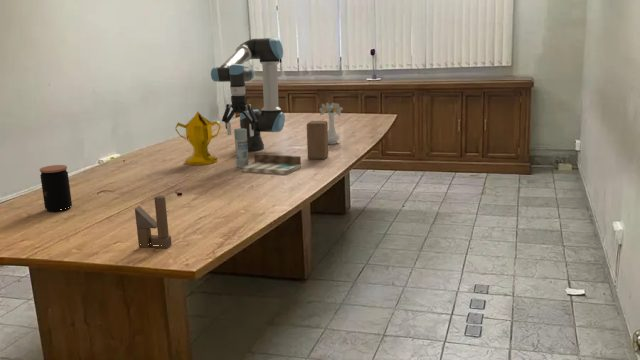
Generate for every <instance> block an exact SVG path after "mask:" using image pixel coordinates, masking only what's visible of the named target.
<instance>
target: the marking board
mask: <svg viewBox="0 0 640 360" xmlns="http://www.w3.org/2000/svg"><path fill="white" fill-rule="evenodd" d="M301 158H302V157H301V156H300V155H286V154H271V153H269V154H268V153H255V154H254V162H251V163H248V165H246V166H244V167H242V168H241V172H245V173H246V172H247V173H260V174H261V173H263V174H275V175H289V174H291V173H293V172H295V171H297V170H299V169H301V167H302V162H301V161H302V160H301Z"/></svg>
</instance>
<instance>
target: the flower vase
mask: <svg viewBox="0 0 640 360" xmlns="http://www.w3.org/2000/svg"><path fill="white" fill-rule="evenodd" d="M318 110H319V112H320V113H319V117H320V116H323V115H325V114H326V113H327V116H328V123H329V124H328V145H334V144H337V143H338V142H339V140H340V135H339V133H338V132H337V131H336V128H335V115H336V114H337V115H338V117H339V116H341V114H342V111H343V110H344V108H343V107H341V106H340V103H335V102H331V103H329V102H326V103H325V104H324V103H322V104H321V107H320V108H319V109H318Z"/></svg>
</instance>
